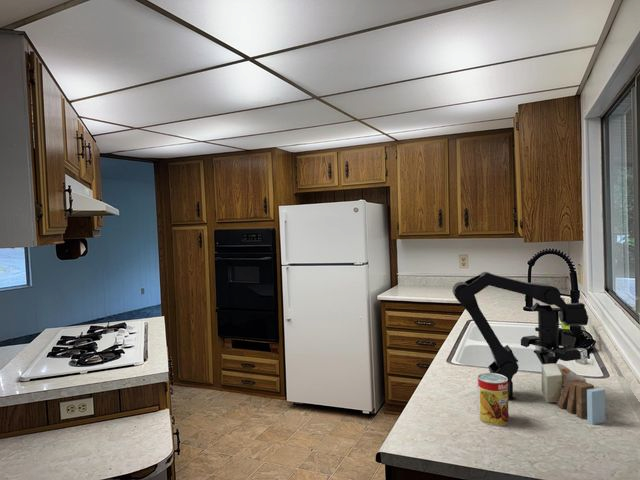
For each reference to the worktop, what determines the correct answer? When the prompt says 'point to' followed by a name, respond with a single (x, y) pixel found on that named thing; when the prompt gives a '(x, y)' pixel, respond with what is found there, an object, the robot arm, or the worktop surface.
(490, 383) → the canned food
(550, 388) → the box
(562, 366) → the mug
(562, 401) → the domino
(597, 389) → the domino
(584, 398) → the domino
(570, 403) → the domino
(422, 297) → the worktop surface
